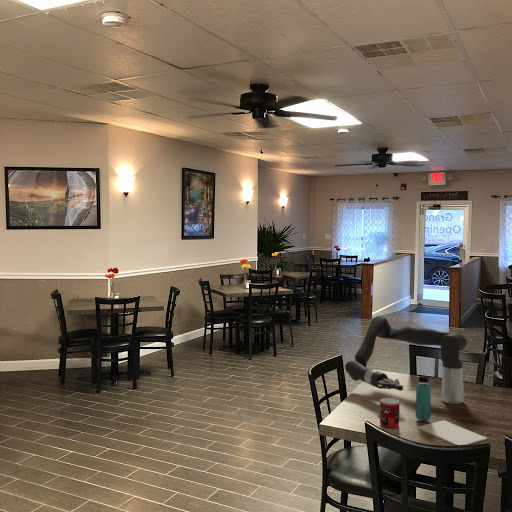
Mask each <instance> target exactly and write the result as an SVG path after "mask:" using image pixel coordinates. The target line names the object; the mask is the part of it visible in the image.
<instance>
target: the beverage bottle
mask: <svg viewBox="0 0 512 512" xmlns="http://www.w3.org/2000/svg"><path fill="white" fill-rule="evenodd" d="M418 382H419V383H417V384H416V386H415V389H416V390H415V410H414V411H415V418H416V419H417V420H419V421H430V420H431V416H432V415H431V414H432V406H431V405H432V404H431V403H432V401H431V400H432V387H431V385H430V384H429V382H430V381H429V376H427V375H419V376H418Z"/></svg>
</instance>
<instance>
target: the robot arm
mask: <svg viewBox="0 0 512 512" xmlns="http://www.w3.org/2000/svg"><path fill="white" fill-rule="evenodd" d="M377 337H378V338H380V339H385V340H395V341H401V342H404V343H405V342H406V343H410V344H414V345H418V346H437V347H438V346H439V347H440V359H441V362H442V368H441V369H442V371H441V372H442V373H441V375H442V376H441V401H442V402H443V403H446V404H451V405H459V404H461V403H463V402H464V397H465V396H464V395H465V394H464V393H465V392H464V390H465V389H464V388H465V387H464V386H465V382H464V381H463V371H464V370H463V369H464V368H463V367H464V366H463V363H464V362H463V361H462V360H461V359H460V352H461V351H463V350H464V349H465V348H466V347H467V344H468V342H467V340H466V338H465V336H463V335H462V334H461V333H459V332H451V331H450V332H448V331H440V330H435V329H432V328H428V327H423V326H417V325H413V324H411V325H406V326H404V327H401V328H397V327H393V326H391V325H390V323H389V322H388V319H387V318H386V317H385V316H384V315H376V316H374V317H373V318H372V319H371V321H370V323H369V326H368V329H367V331H366V334H365V336H364V339H363V341H362V343H361V345H360V347H359V349H358V350H357V351H356V354H355V355H354V360H349V361H347V362H346V363H345V366H344V369H345V372H346V373H347V374H348V376H349V377H350V378H351V379H352V380H353V381H359V380H360V381H361V382H363V383H366V384H368V385H370V386H373V387H374V388H377V389H381V390H383V389H385V390H396V391H399V392H401V391H404V385H401V384H400V380H399V379H398V378H396V379H392V378H390V377H388V375H387V374H386V373H385V372H381V371H379V370H375V369H372V368H367V365H368V363H369V360H370V359H371V357H372V355H373V352H374V350H375V344H376V340H377Z"/></svg>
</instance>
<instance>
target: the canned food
mask: <svg viewBox="0 0 512 512" xmlns="http://www.w3.org/2000/svg"><path fill="white" fill-rule="evenodd" d="M379 403H380V404H379V405H380V406H379V424H380V427H382V428H384V429H389V430H395V429H399V426H400V405H401V404H400V400H399V399H397V398H392V397H383V398H381V399H380V402H379Z"/></svg>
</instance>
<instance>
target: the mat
mask: <svg viewBox="0 0 512 512" xmlns="http://www.w3.org/2000/svg"><path fill="white" fill-rule="evenodd" d="M416 428H417V429H419V430H421V431H423V432H426V433H427V434H430V435H432V436H434V437H436V438H439V439H441V440H443V441H445V442H447V443H450V444H452V445H454V446H456V445H466V446H468V445H473V444H476V443H479V442H483V441H485V440H488V437H486V436H484V435H481V434H478V433H476V432H474V431H471V430H469V429H467V428H464V427H461V426H459V425H457V424H454V423H452V422H449V421H447V420H439V421H435V422H431V423H428V424H423V425H419V426H417V427H416Z"/></svg>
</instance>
